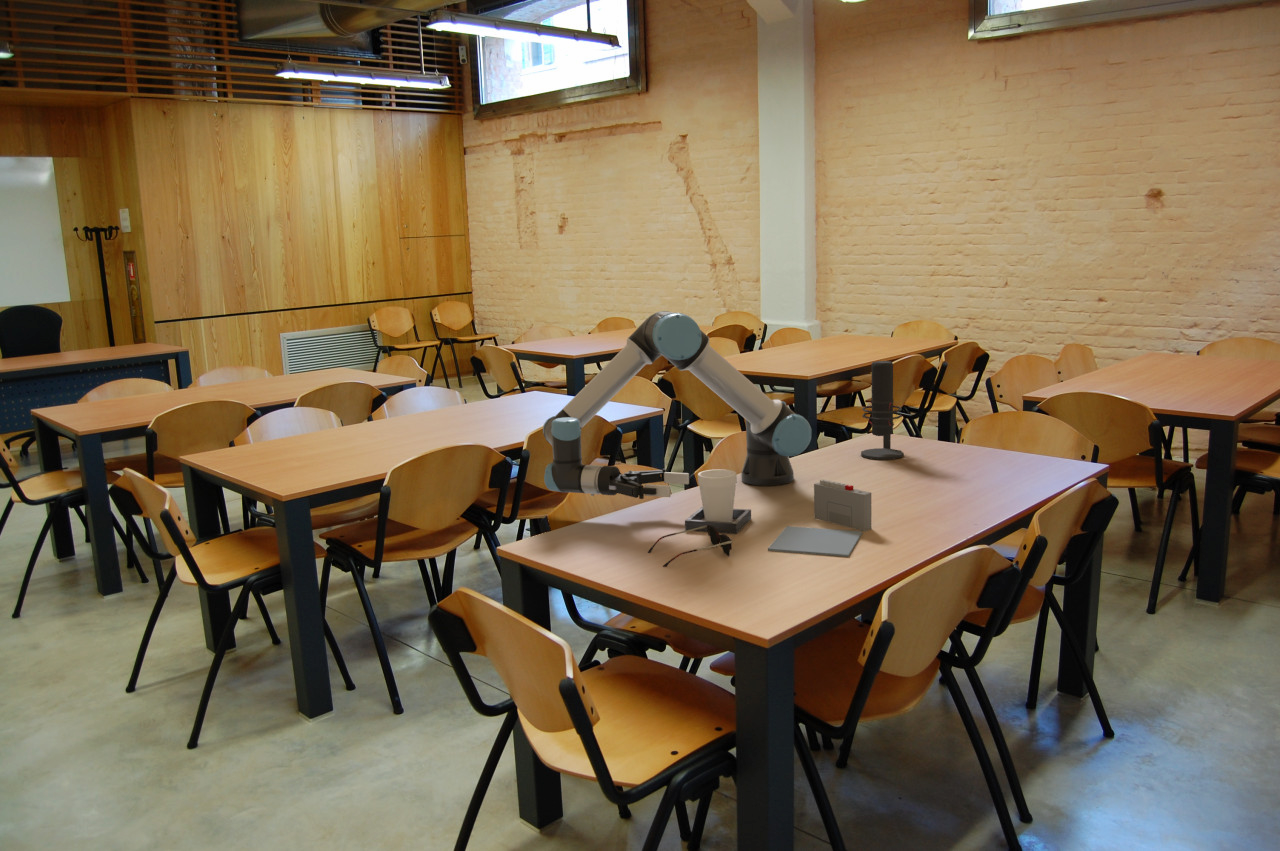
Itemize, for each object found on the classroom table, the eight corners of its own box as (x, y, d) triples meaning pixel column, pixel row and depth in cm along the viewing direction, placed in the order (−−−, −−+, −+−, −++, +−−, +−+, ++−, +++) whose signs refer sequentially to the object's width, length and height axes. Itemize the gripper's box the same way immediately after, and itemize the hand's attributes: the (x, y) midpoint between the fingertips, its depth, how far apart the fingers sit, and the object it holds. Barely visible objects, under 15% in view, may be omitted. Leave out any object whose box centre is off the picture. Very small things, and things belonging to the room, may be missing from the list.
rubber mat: (787, 528, 233) (787, 526, 233) (862, 533, 226) (862, 531, 226) (768, 550, 216) (767, 548, 216) (848, 557, 210) (848, 554, 210)
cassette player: (871, 529, 229) (871, 488, 227) (864, 531, 228) (863, 490, 226) (821, 516, 242) (821, 478, 240) (814, 518, 240) (813, 479, 238)
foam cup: (744, 522, 240) (742, 471, 237) (727, 531, 232) (725, 479, 230) (710, 517, 245) (709, 468, 242) (692, 527, 237) (690, 476, 235)
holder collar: (702, 515, 247) (701, 506, 246) (751, 519, 242) (751, 509, 241) (685, 530, 235) (684, 520, 234) (736, 534, 230) (736, 523, 229)
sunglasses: (734, 560, 212) (732, 538, 211) (665, 574, 208) (663, 552, 207) (710, 543, 225) (708, 522, 224) (645, 556, 221) (643, 535, 220)
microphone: (852, 452, 311) (851, 360, 306) (889, 448, 315) (890, 358, 309) (873, 461, 298) (873, 365, 292) (912, 457, 301) (912, 362, 295)
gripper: (621, 483, 260) (695, 487, 252) (581, 506, 238) (662, 512, 230) (620, 455, 259) (695, 459, 251) (580, 476, 236) (661, 482, 228)
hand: (679, 485), depth 240 cm, fingers open, 13 cm apart
